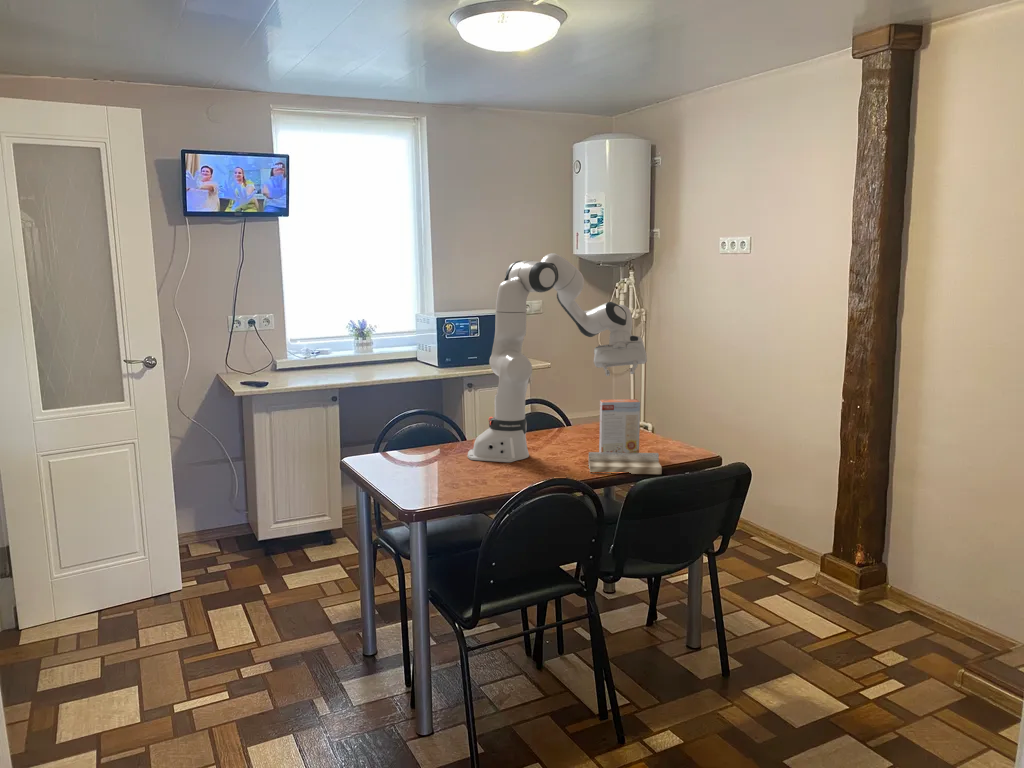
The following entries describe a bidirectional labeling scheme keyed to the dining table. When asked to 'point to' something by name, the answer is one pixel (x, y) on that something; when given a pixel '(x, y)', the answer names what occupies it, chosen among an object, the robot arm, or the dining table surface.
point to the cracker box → (619, 425)
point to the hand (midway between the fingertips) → (619, 374)
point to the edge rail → (623, 456)
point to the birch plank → (626, 467)
